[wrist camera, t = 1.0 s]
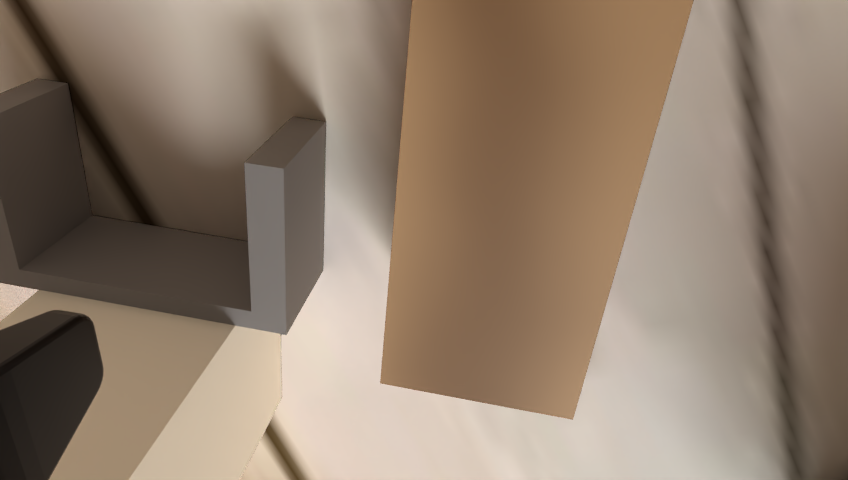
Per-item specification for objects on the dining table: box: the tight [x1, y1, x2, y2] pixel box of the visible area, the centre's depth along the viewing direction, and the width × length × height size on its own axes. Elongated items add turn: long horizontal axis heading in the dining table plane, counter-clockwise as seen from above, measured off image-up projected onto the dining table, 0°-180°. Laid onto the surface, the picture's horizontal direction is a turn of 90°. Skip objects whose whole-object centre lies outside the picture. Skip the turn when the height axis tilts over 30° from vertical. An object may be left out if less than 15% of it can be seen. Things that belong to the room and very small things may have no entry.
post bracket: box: [0, 79, 326, 480], centre depth 18 cm, size 9×11×10 cm
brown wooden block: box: [380, 0, 694, 419], centre depth 16 cm, size 5×14×5 cm, turn 174°
